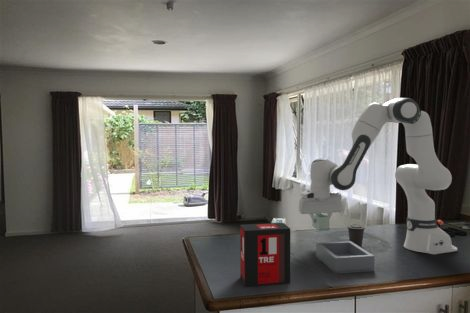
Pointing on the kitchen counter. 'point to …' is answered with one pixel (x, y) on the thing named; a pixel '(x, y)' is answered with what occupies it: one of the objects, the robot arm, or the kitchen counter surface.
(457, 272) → the kitchen counter surface
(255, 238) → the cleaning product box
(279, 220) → the light bulb box
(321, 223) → the small crate
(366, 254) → the large crate
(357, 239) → the coffee cup
